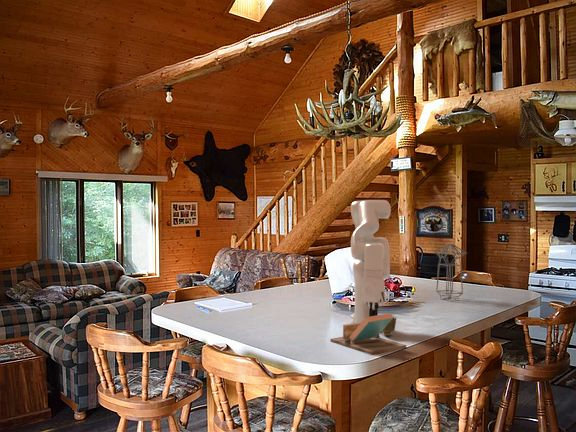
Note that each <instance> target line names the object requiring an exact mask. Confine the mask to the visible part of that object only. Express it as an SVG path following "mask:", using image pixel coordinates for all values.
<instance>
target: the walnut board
mask: <svg viewBox="0 0 576 432" xmlns="http://www.w3.org/2000/svg"><path fill="white" fill-rule="evenodd" d="M361 323H362V322H357V323H346V324H342V325H343V326H342V336H338V337H333V338H330V339H329V340H330V342H332V343H334V344H338V345H341V346H344V347H347V348H350V349H353V350H356V351H360V352H362V353H365V354H369V355H371V356H374V355H378V354H384V353H388V352H392V350H393V351H397V350H396V349H398V350H401V349H400V348H402V349H405V348H407V344H404V343H401V342H397V341H394V340H389V339H386V338H382V337H381V336H380V334H379V335H378V336H377V337H375V338H370V339H364V340H359V341H354V342H351V340H350V338H349V337H350V336H351V335H352V333H353V332H354V331H355V330H356V329H357V327H358V326H359V325H360V324H361Z"/></svg>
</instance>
